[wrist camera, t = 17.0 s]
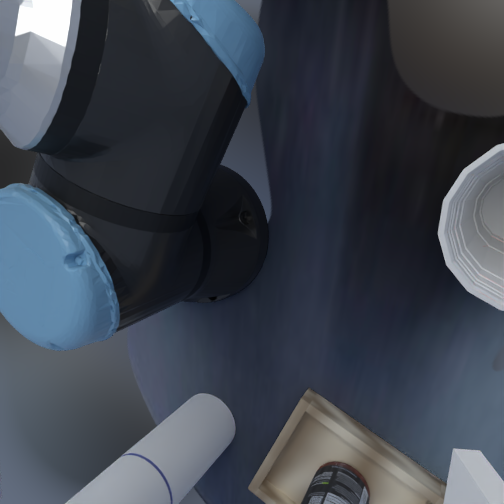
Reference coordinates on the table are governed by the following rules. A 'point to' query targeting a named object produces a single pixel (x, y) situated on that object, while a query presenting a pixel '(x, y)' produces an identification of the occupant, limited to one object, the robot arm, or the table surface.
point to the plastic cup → (477, 228)
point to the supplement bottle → (337, 486)
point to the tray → (339, 459)
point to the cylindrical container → (166, 457)
